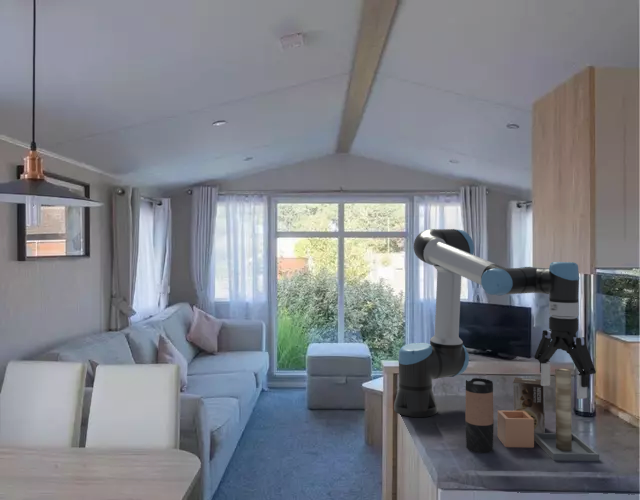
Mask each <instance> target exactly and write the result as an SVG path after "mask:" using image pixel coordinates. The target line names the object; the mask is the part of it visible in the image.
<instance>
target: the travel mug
mask: <svg viewBox="0 0 640 500" xmlns="http://www.w3.org/2000/svg"><path fill="white" fill-rule="evenodd" d="M464 418H465V441H466V442H465V445H466V446H465V447H466V449H467V450H468V451H471V452H474V453H479V454H487V453H488V454H489V453H491V452H493V450H494V448H493V447H494V382H493V381H492V380H491V379H486V378H480V377H479V378H477V377H475V378H471V380H467V379H465V417H464Z"/></svg>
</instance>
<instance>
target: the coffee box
mask: <svg viewBox="0 0 640 500" xmlns="http://www.w3.org/2000/svg"><path fill="white" fill-rule="evenodd" d="M512 396H513V397H512V399H513V411H525V412H527V413H528V414H529V415H530V416H531V417H532V418H533V419H534V433H546V431H545V430H546V413H545V412H546V411H545V410H546V409H545V405H546V404H545V403H546V402H545V386H541V379H538V378H537V379H536V378H528V377H526V378H525V377H514V379H513V381H512Z"/></svg>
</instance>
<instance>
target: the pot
mask: <svg viewBox="0 0 640 500" xmlns="http://www.w3.org/2000/svg"><path fill="white" fill-rule="evenodd" d="M534 433H535V432H534V419H533V418H532V417H531V416H530V415H529V414H528V413H527V412H525V411H514V410H501V409H500V410H499V409H498V410H497V438H498V440H499V441H500V442H501V443H502V445H503V446H504V447H505V448H535V441H534Z"/></svg>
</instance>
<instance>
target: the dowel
mask: <svg viewBox="0 0 640 500" xmlns="http://www.w3.org/2000/svg"><path fill="white" fill-rule="evenodd" d="M554 371H555V373H554V375H555V376H554V377H555V380H554V381H555V387H554V388H555V433H556V448H557V449H559V450H563V451H570V450H572V433H573V432H572V371H571V370H570V369H566V368H556V369H555V370H554Z"/></svg>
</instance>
